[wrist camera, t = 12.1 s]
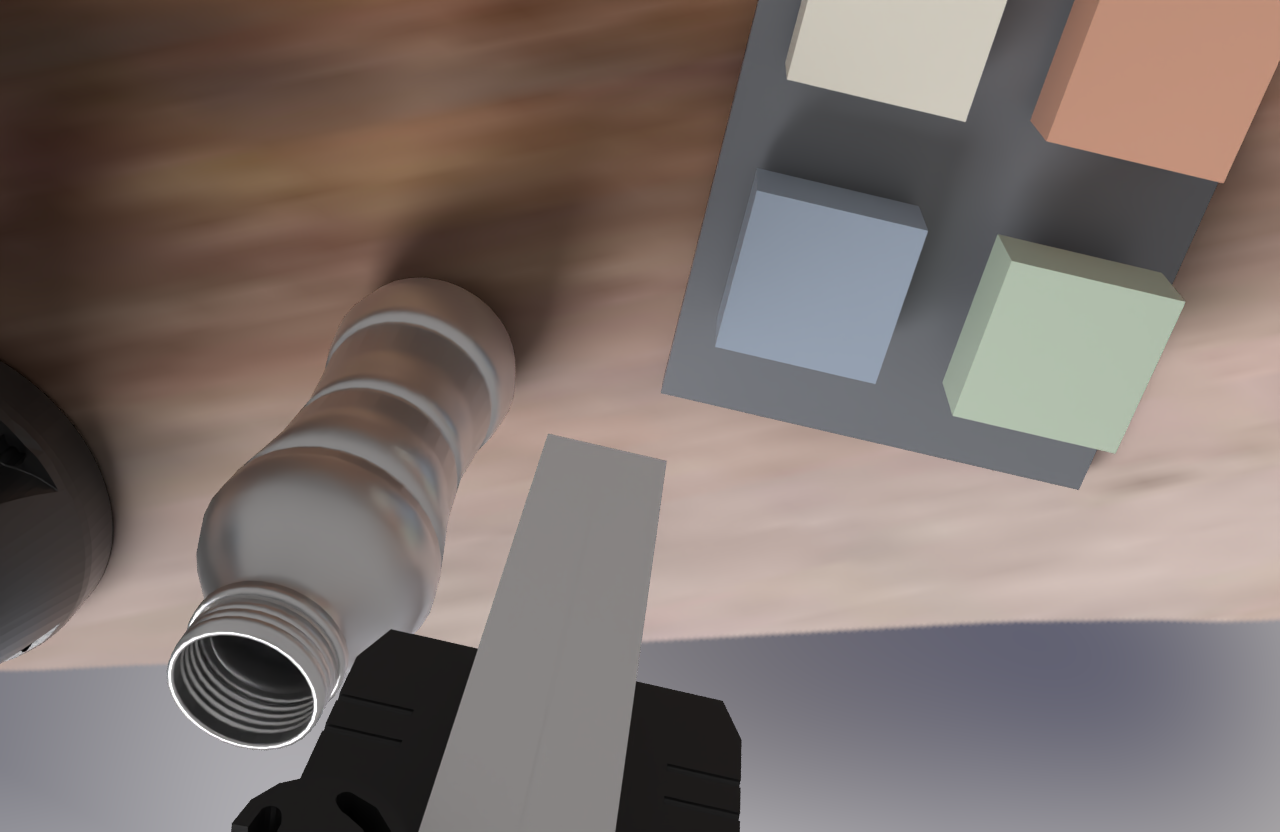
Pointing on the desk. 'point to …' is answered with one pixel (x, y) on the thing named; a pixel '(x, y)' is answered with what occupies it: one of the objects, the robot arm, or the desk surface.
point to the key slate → (819, 276)
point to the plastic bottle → (341, 514)
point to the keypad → (953, 248)
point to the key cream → (896, 50)
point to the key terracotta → (1161, 80)
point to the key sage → (1060, 343)
